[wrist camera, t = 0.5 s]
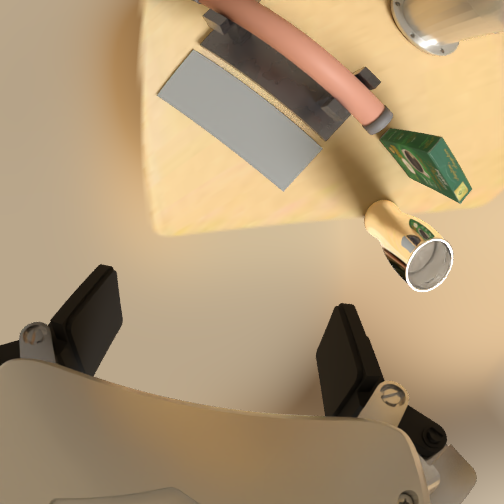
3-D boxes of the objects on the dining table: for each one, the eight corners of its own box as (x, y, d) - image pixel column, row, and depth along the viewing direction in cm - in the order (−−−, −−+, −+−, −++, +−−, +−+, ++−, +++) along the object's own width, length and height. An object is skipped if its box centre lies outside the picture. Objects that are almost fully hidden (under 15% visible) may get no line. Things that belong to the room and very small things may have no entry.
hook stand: (240, 7, 27) (231, -39, 15) (361, 101, 32) (406, 94, 20) (201, 46, 30) (173, 14, 18) (324, 140, 35) (354, 149, 23)
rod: (193, 4, 19) (186, -8, 16) (214, -16, 18) (209, -29, 15) (365, 133, 25) (377, 135, 22) (384, 112, 23) (398, 112, 21)
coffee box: (421, 167, 36) (475, 189, 24) (410, 180, 36) (460, 206, 25) (390, 126, 33) (441, 133, 22) (377, 139, 34) (426, 150, 23)
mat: (194, 50, 30) (193, 49, 29) (322, 148, 35) (322, 148, 35) (157, 95, 33) (156, 95, 32) (283, 190, 38) (283, 191, 38)
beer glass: (357, 238, 41) (396, 294, 27) (365, 194, 38) (413, 233, 24) (396, 241, 41) (443, 293, 27) (405, 199, 38) (462, 238, 24)
